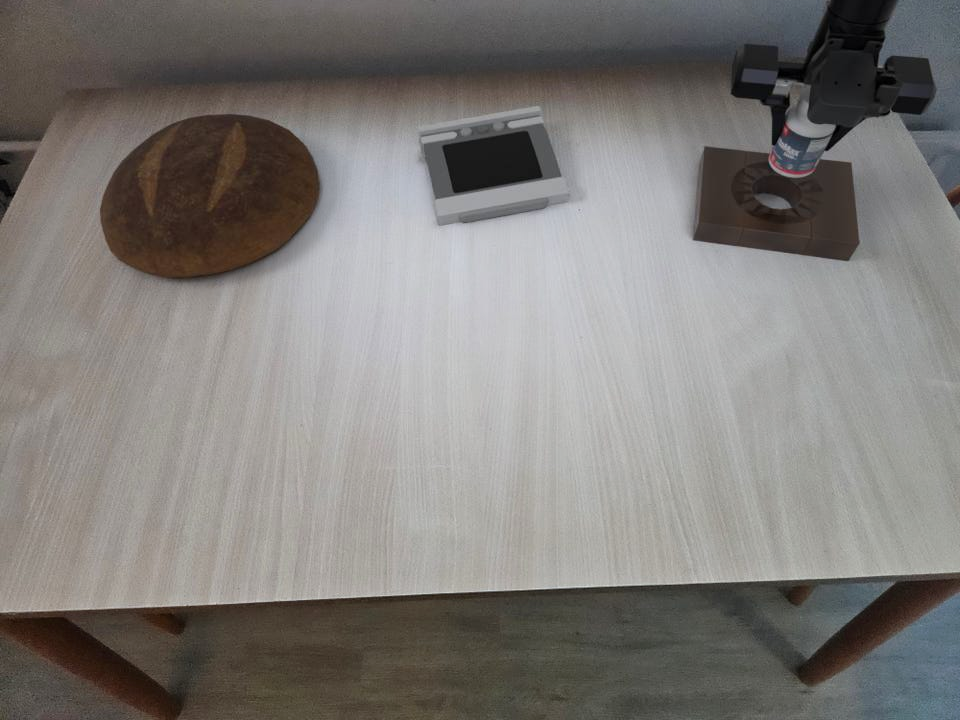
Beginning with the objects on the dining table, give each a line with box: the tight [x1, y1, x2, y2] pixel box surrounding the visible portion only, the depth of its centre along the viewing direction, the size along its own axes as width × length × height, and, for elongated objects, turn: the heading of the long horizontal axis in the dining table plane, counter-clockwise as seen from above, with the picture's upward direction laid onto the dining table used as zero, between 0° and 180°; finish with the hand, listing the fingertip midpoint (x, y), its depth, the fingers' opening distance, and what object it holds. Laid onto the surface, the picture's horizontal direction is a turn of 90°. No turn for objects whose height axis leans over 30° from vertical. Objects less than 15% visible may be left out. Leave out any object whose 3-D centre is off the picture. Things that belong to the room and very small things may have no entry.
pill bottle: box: [769, 86, 836, 178], centre depth 71 cm, size 5×5×9 cm
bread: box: [99, 113, 321, 278], centre depth 83 cm, size 28×27×9 cm
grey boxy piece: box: [417, 105, 571, 226], centre depth 86 cm, size 17×5×16 cm
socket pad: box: [692, 145, 860, 262], centre depth 80 cm, size 18×14×3 cm
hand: (798, 145), depth 73 cm, fingers closed on pill bottle, 5 cm apart
